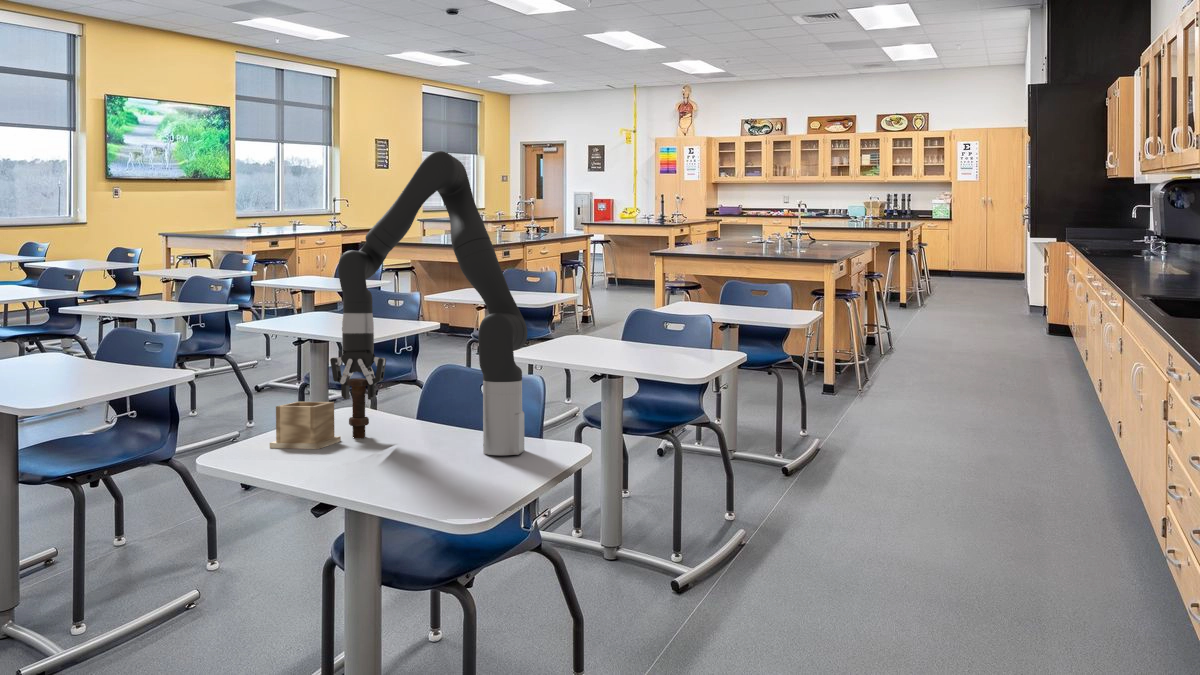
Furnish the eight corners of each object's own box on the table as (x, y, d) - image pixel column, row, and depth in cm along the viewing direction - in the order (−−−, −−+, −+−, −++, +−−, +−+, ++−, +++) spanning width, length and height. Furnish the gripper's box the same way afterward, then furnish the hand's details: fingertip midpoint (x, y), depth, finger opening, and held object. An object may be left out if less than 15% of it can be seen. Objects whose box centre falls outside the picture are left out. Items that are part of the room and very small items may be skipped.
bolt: (357, 441, 212) (357, 380, 212) (342, 439, 215) (342, 379, 214) (374, 438, 217) (374, 378, 217) (360, 436, 220) (359, 377, 219)
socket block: (340, 441, 212) (340, 401, 212) (318, 449, 201) (317, 407, 200) (294, 440, 214) (294, 401, 214) (269, 448, 202) (269, 406, 202)
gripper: (391, 331, 218) (391, 398, 218) (337, 331, 220) (337, 397, 220) (379, 332, 211) (380, 401, 211) (323, 331, 212) (324, 400, 213)
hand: (358, 398), depth 216 cm, fingers closed on bolt, 5 cm apart
